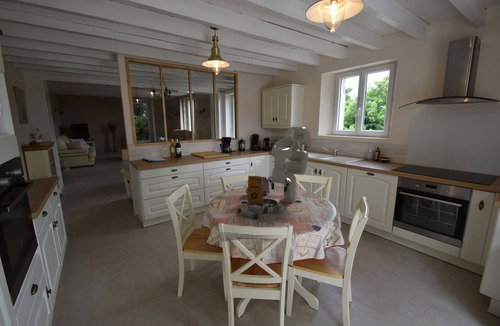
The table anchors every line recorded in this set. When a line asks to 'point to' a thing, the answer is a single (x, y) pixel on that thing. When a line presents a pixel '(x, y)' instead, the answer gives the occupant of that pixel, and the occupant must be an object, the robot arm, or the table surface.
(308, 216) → the table surface
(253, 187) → the coffee package
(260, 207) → the chassis
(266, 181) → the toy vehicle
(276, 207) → the engine block
